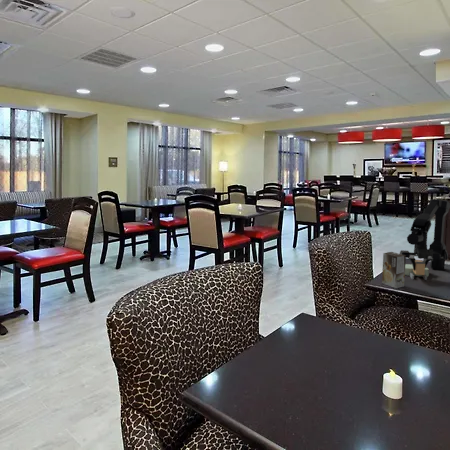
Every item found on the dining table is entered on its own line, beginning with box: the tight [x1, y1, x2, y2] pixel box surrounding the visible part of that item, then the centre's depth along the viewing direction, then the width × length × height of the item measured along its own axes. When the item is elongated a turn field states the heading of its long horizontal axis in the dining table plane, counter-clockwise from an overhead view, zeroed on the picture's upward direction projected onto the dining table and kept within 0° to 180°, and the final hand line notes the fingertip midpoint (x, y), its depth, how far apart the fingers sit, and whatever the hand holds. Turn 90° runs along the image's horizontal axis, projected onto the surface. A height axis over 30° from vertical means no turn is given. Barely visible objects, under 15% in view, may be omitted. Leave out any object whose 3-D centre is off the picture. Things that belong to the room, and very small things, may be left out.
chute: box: [413, 259, 425, 275], centre depth 206 cm, size 4×7×7 cm, turn 166°
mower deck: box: [405, 263, 430, 281], centre depth 211 cm, size 12×16×6 cm
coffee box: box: [381, 251, 407, 289], centre depth 195 cm, size 9×6×16 cm
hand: (418, 270), depth 206 cm, fingers closed on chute, 4 cm apart
